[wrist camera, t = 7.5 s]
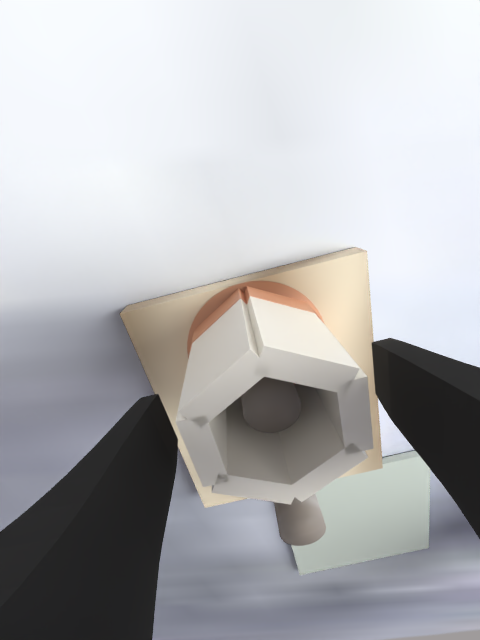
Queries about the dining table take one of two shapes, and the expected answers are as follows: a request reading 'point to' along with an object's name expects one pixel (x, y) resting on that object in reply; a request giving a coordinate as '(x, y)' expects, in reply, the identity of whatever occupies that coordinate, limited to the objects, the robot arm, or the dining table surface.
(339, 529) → the mat
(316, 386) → the sleeve
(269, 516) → the dining table surface
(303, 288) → the pin board
